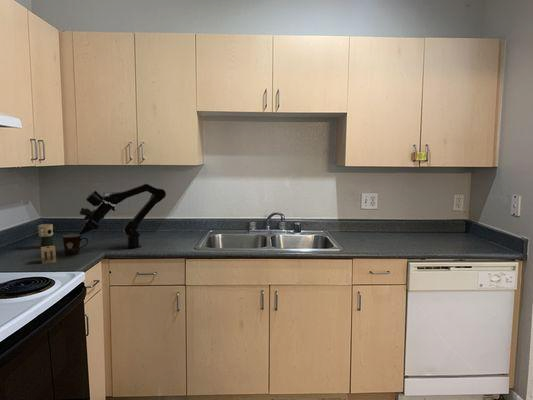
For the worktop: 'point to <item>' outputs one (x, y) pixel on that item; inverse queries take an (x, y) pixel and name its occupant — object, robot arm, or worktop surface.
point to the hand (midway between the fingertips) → (79, 234)
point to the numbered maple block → (48, 254)
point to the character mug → (46, 234)
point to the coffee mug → (72, 243)
